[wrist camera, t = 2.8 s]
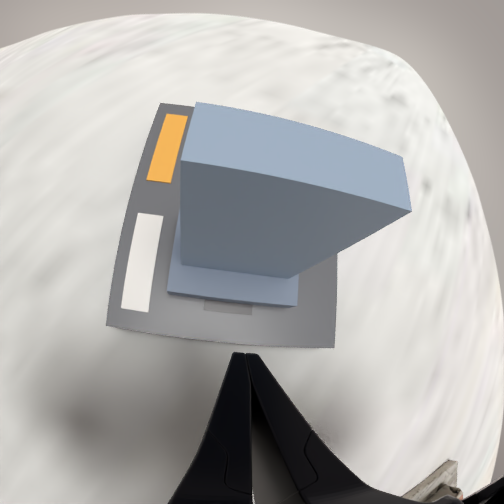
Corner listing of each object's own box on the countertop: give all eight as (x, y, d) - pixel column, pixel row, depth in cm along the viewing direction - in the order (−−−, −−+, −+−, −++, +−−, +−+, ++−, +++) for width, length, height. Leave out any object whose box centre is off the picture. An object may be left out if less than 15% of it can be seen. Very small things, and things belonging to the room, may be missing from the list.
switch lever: (288, 308, 15) (431, 267, 6) (168, 294, 13) (137, 221, 4) (292, 233, 16) (406, 126, 7) (180, 216, 15) (186, 64, 6)
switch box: (318, 347, 17) (335, 348, 15) (115, 326, 15) (105, 325, 13) (320, 151, 21) (332, 136, 19) (161, 121, 18) (160, 102, 17)
